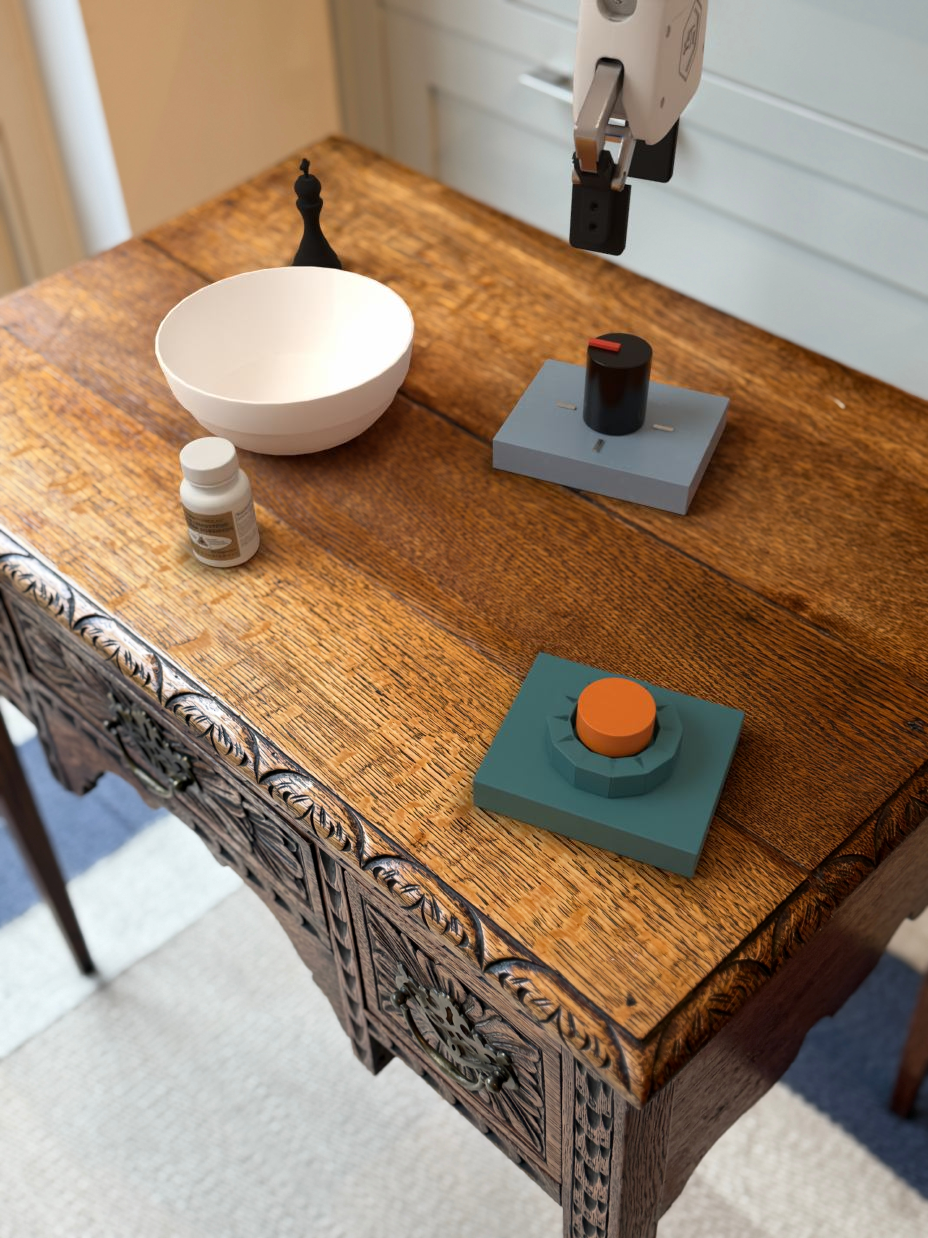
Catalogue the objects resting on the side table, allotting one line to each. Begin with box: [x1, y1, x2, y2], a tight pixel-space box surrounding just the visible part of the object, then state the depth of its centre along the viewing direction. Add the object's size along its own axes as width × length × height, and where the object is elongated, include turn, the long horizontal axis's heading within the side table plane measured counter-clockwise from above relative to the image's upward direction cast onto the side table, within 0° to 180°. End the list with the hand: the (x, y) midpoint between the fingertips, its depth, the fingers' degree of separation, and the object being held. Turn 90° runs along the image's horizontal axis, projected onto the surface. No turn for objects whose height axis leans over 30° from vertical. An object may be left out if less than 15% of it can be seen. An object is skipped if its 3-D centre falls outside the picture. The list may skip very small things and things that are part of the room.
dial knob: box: [583, 332, 654, 436], centre depth 81 cm, size 4×4×6 cm
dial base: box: [492, 358, 731, 516], centre depth 84 cm, size 14×11×3 cm
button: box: [576, 678, 656, 757], centre depth 61 cm, size 4×4×2 cm
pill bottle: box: [179, 436, 261, 568], centre depth 75 cm, size 4×4×8 cm
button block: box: [472, 651, 746, 880], centre depth 63 cm, size 12×10×4 cm
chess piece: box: [291, 157, 343, 270], centre depth 100 cm, size 4×4×10 cm
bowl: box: [154, 266, 416, 456], centre depth 86 cm, size 18×18×7 cm
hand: (622, 211), depth 70 cm, fingers open, 9 cm apart
